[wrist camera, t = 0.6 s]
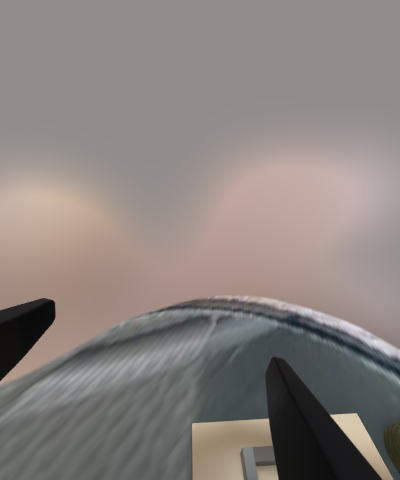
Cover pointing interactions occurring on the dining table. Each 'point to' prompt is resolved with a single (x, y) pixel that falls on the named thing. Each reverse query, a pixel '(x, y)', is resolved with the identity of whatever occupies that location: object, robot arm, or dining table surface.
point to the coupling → (393, 444)
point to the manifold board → (260, 449)
